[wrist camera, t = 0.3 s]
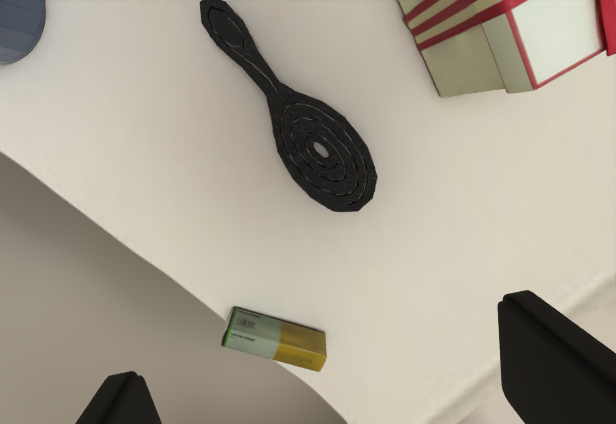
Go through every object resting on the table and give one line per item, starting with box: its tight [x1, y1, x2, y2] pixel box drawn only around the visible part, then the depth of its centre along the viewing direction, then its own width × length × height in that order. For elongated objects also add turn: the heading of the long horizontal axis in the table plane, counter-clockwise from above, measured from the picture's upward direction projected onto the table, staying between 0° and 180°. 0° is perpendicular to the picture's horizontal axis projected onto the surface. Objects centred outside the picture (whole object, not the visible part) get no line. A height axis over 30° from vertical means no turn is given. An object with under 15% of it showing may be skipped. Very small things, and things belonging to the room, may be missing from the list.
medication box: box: [221, 307, 327, 372], centre depth 42 cm, size 12×3×4 cm, turn 71°
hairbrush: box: [200, 0, 377, 212], centre depth 35 cm, size 8×4×25 cm
